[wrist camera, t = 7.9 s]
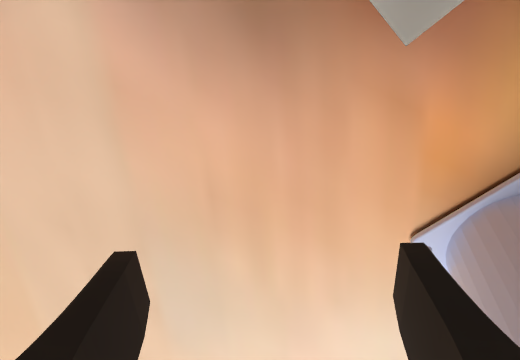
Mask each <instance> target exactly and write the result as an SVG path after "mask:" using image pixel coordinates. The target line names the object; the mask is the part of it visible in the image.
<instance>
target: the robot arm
mask: <svg viewBox="0 0 520 360" xmlns="http://www.w3.org/2000/svg"><path fill="white" fill-rule="evenodd" d="M428 246H429V247H428ZM393 298H394V304H395V309H396V315H397V320H398V325H399V330H400V334H401V337H402V340H403V344H404V347H405V350H406V353H407V357H408V360H520V173H518V174H517V175H515V176H513V177H512V178H510V179H508V180H507V181H505V182H503V183H502V184H500V185H498V186H497V187H495V188H493V189H491V190H490V191H488V192H486V193H485V194H483V195H481V196H480V197H478V198H476V199H475V200H473V201H471V202H470V203H468V204H466V205H464V206H463V207H461V208H459V209H458V210H456V211H454V212H453V213H451V214H449V215H448V216H446V217H444V218H443V219H441V220H439V221H437V222H436V223H434V224H432V225H431V226H429V227H427V228H426V229H424V230H422V231H421V232H419V233H417V234H416V235H414V236H413V237H412V238H411V243H400V249H399V256H398V264H397V271H396V278H395V285H394V293H393ZM149 306H150V299H149V296H148V292H147V289H146V285H145V282H144V278H143V275H142V271H141V267H140V264H139V260H138V257H137V253H136V251H124V252H114V253H113V254H112V255H111V256H110V257H109V258H108V259H107V261H106V262H105V263H104V264H103V265H102V267H101V268H100V269H99V270H98V272H97V273H96V274H95V275H94V276H93V278H92V279H91V280H90V281H89V282H88V284H87V285H86V286H85V287H84V288H83V289H82V291H81V292H80V293H79V294H78V295H77V296H76V298H75V299H74V300H73V301H72V302H71V303H70V304H69V305H68V307H67V308H66V309H65V310H64V311H63V312H62V313H61V314H60V316H59V317H58V318H57V319H56V320H55V321H54V322H53V323H52V324H51V325H50V326H49V327H48V328H47V329H46V330H45V331H44V332H43V333H42V334H41V335H40V336H39V338H38V339H37V340H35V341H34V342H33V343H32V344H31V345H30V346H29V347H28V348H27V349H26V350H25V351H24V352H23V353H22V354H21V355H20V356H19V357H18V358H17V359H15V360H138V357H139V354H140V350H141V347H142V343H143V340H144V336H145V330H146V325H147V319H148V312H149Z"/></svg>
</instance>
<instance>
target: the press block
mask: <svg viewBox="0 0 520 360" xmlns="http://www.w3.org/2000/svg"><path fill="white" fill-rule="evenodd" d="M463 1H464V0H370V2H371V3H372V4H373V5H374V7H375V8H376V9H377V10H378V12H379V13H380V14H381V16H382V17H383V18H384V19H385V21H386V22H387V23H388V24H389V26H390V27H391V28H392V29H393V31H394V32H395V33H396V34H397V36H398V37H399V38H400V40H401V41H402V42H403V43H404V45H405V46H407V45H408V44H409V43H411V42H412V41H413V40H415V39H416V38H417V37H418V36H420V35H421V34H422V33H423V32H425V31H426V30H427V29H429V28H430V27H431V26H432V25H434V24H435V23H436V22H437V21H439V20H440V19H441V18H443V17H444V16H445V15H446V14H448V13H449V12H450V11H451V10H453V9H454V8H455V7H457V6H458V5H459V4H460V3H462V2H463Z"/></svg>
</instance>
